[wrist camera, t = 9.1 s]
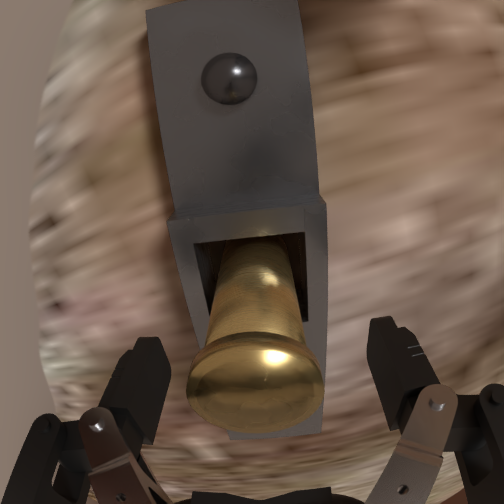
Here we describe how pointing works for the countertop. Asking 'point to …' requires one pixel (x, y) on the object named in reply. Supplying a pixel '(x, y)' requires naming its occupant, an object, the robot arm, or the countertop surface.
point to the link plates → (240, 150)
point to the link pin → (255, 345)
